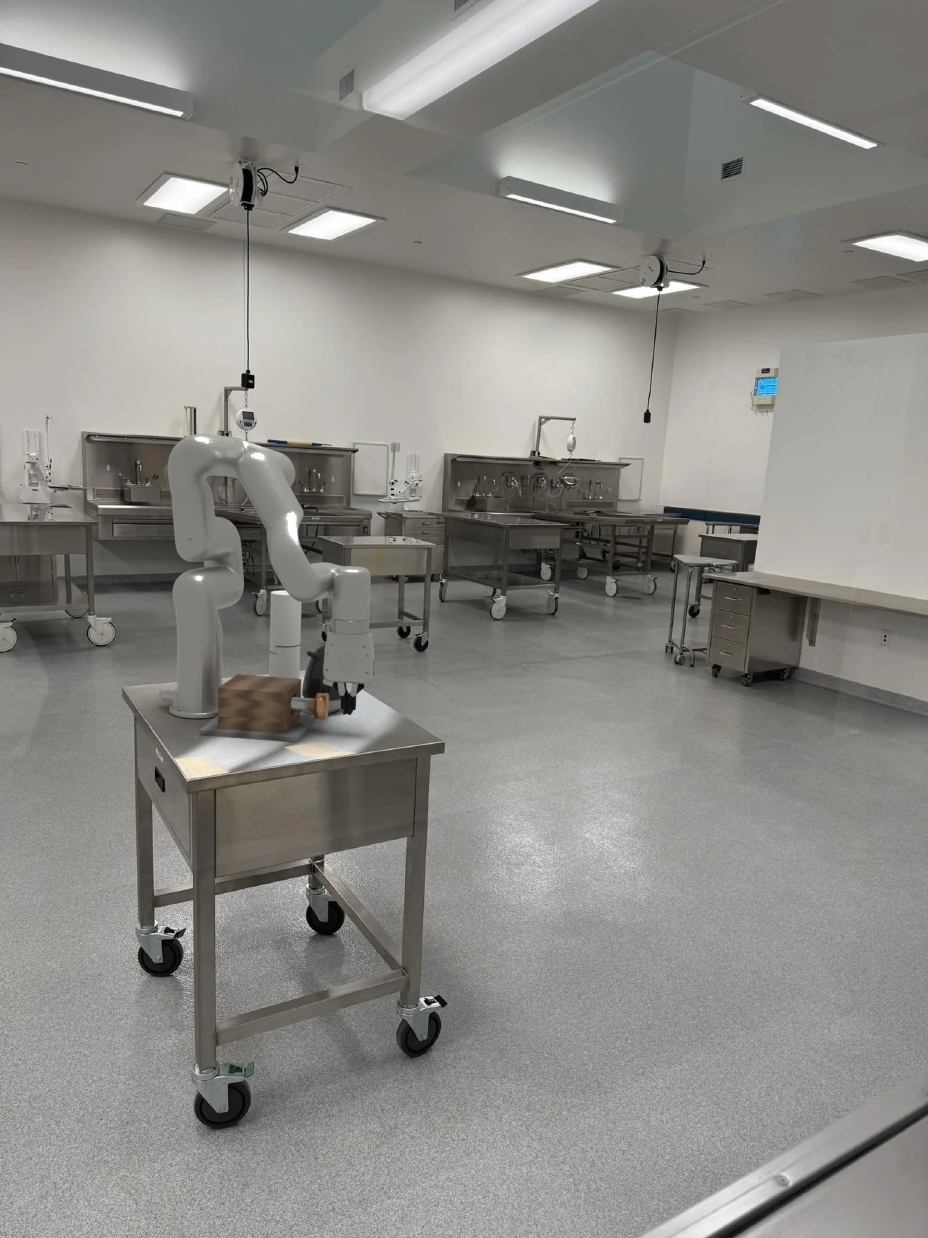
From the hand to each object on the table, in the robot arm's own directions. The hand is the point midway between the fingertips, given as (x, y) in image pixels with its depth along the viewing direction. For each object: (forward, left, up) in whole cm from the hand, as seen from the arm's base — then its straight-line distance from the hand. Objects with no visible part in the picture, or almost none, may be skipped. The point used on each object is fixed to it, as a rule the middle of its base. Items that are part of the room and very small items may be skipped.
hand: (348, 713), depth 174 cm
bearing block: (-19, 0, -5) cm, 19 cm away
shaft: (-15, 0, -2) cm, 15 cm away
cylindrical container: (-21, +26, -5) cm, 34 cm away
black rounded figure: (-9, +16, -5) cm, 19 cm away
